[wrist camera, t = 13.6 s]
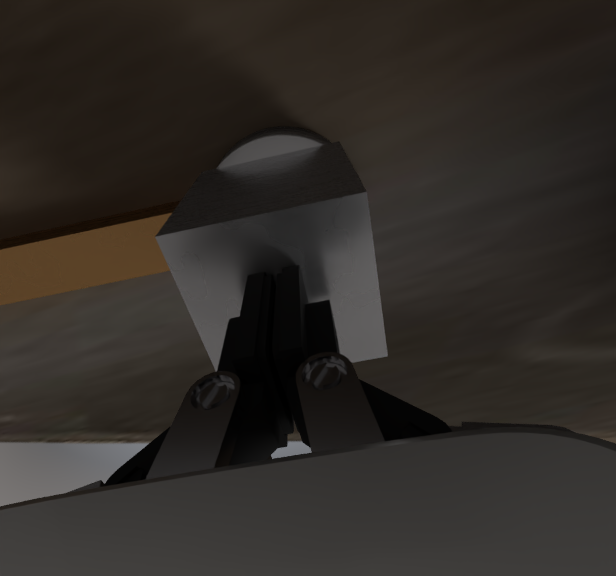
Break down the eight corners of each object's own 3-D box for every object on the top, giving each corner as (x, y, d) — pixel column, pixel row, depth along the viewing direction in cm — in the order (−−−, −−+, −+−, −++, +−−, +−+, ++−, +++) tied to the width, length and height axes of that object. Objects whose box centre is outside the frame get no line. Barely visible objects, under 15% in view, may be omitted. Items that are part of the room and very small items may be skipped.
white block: (339, 141, 17) (366, 191, 11) (358, 264, 20) (387, 355, 14) (201, 172, 17) (155, 236, 11) (242, 287, 20) (222, 386, 14)
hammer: (348, 109, 18) (374, 135, 13) (368, 256, 22) (394, 323, 17) (-115, 215, 20) (-269, 278, 15) (-17, 333, 24) (-107, 416, 19)
